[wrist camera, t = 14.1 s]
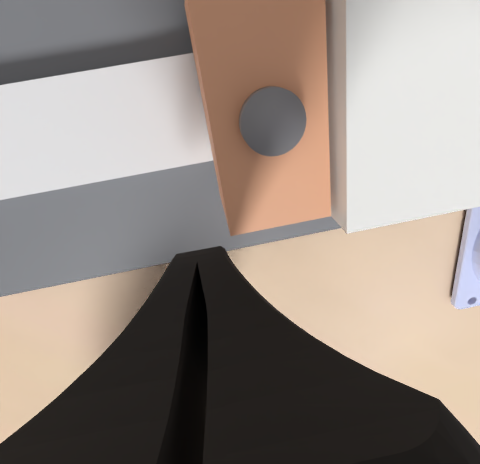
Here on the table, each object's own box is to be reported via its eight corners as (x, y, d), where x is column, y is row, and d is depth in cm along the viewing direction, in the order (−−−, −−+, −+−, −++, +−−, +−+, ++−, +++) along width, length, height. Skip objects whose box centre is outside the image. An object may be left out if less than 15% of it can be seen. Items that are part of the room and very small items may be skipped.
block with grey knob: (283, -11, 11) (331, -41, 7) (296, 178, 13) (336, 222, 10) (184, 5, 10) (185, -18, 7) (219, 193, 13) (232, 242, 10)
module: (402, -61, 11) (548, -136, 7) (390, 159, 14) (482, 206, 10) (279, -41, 11) (345, -106, 6) (296, 177, 14) (346, 233, 10)
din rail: (465, -147, 11) (553, -210, 8) (426, 199, 17) (472, 227, 14) (-199, -54, 10) (-338, -93, 7) (-1, 285, 16) (-39, 332, 13)
